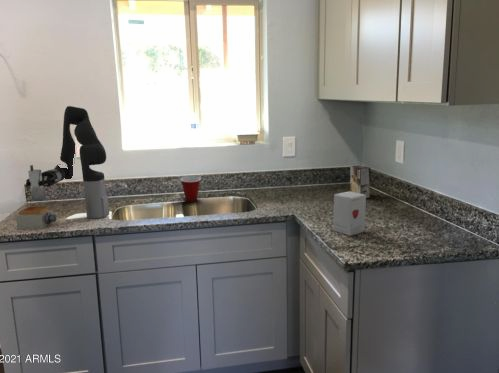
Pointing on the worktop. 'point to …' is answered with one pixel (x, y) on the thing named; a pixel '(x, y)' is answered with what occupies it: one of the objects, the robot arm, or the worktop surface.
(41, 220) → the gearbox
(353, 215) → the supplement box
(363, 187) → the coffee box
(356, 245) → the worktop surface
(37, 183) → the moka pot
